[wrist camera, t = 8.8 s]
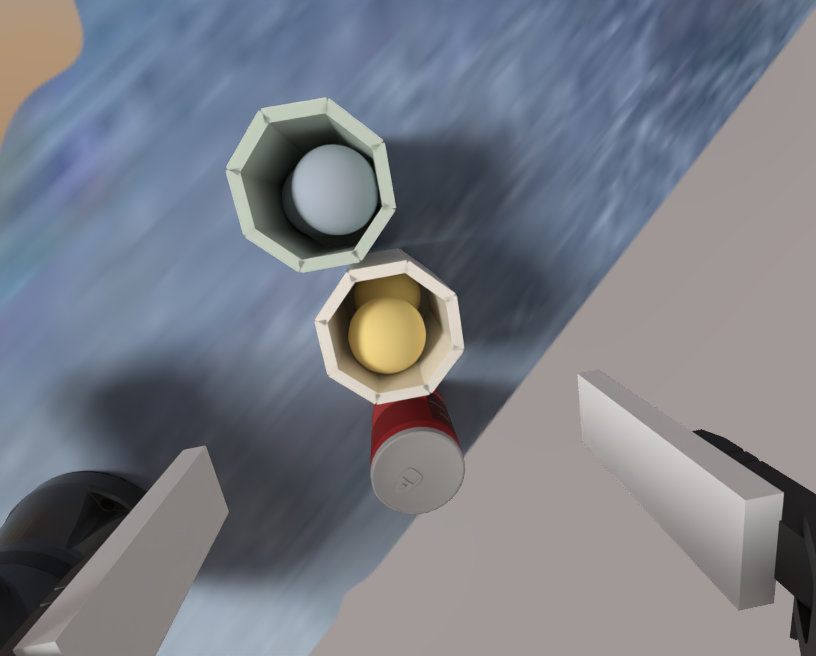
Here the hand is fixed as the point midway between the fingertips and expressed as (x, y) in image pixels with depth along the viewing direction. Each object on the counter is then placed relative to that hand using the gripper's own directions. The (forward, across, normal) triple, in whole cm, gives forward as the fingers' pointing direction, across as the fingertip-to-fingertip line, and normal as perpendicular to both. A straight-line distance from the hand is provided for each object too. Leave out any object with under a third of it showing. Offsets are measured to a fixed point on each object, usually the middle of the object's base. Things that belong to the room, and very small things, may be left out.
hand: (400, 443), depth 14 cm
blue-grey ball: (+17, -2, +10) cm, 20 cm away
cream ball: (+23, 0, +1) cm, 23 cm away
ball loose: (+17, 0, -1) cm, 17 cm away
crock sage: (+26, -3, +10) cm, 28 cm away
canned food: (+27, 0, -12) cm, 30 cm away
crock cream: (+26, 0, 0) cm, 27 cm away
